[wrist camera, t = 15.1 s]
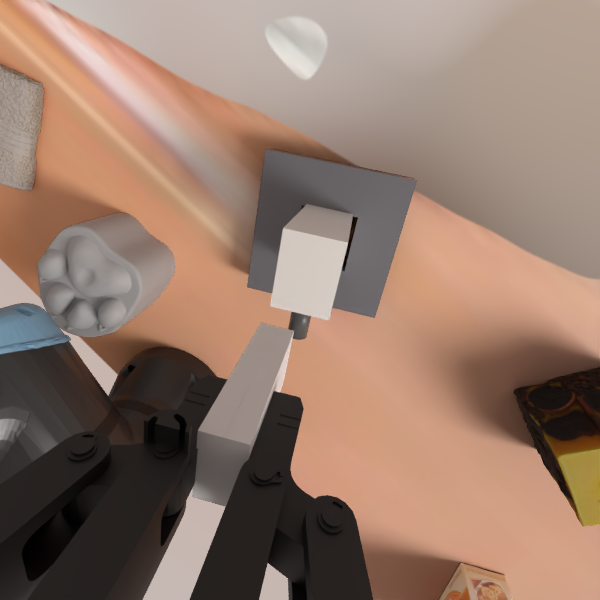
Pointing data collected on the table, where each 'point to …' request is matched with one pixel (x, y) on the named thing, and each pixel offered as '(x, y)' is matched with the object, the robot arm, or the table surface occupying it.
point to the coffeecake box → (476, 585)
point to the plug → (310, 265)
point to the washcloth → (19, 128)
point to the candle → (568, 436)
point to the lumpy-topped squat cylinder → (103, 274)
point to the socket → (341, 197)
